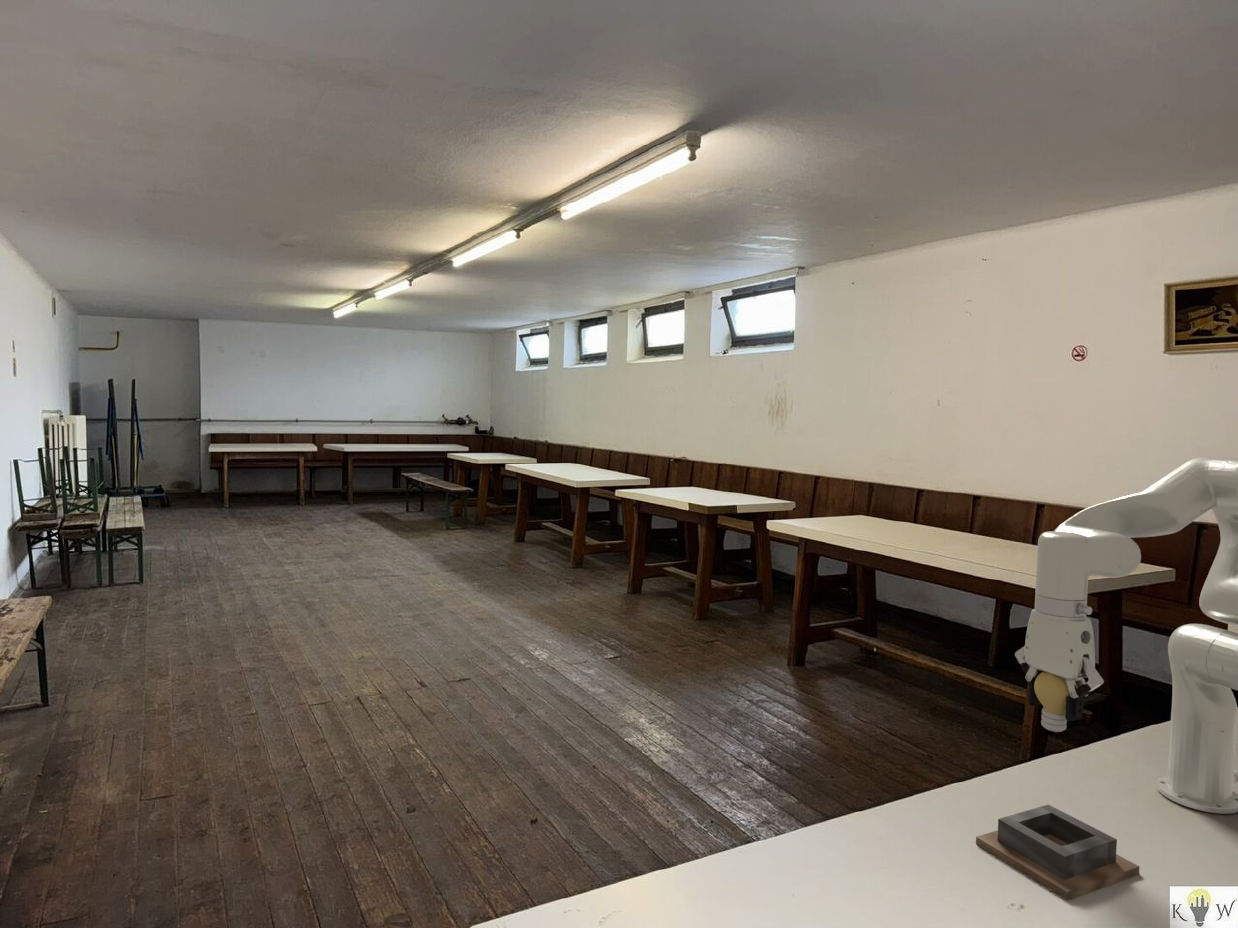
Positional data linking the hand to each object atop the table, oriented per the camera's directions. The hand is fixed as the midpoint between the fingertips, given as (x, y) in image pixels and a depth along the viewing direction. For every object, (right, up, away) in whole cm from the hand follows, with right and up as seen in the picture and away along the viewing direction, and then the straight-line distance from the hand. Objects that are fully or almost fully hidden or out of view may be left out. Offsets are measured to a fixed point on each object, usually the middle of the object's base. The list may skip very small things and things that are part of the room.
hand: (1054, 710), depth 132 cm
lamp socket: (-5, -21, -8) cm, 23 cm away
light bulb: (0, -3, 0) cm, 3 cm away
